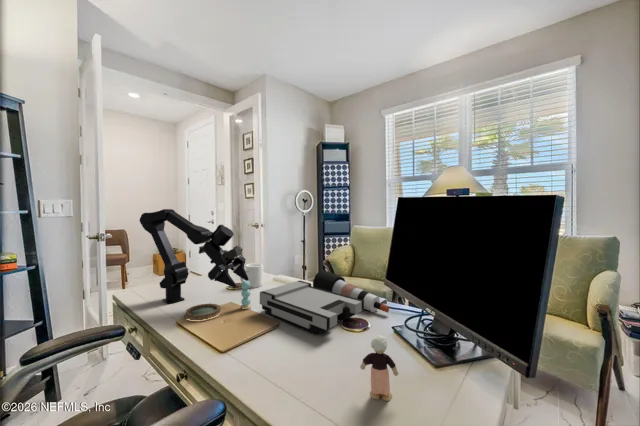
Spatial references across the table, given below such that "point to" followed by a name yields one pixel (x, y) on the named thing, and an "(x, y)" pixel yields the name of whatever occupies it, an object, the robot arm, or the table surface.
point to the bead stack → (245, 295)
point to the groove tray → (202, 311)
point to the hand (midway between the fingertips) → (242, 283)
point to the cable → (347, 290)
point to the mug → (254, 274)
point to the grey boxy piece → (308, 306)
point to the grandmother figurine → (379, 369)
